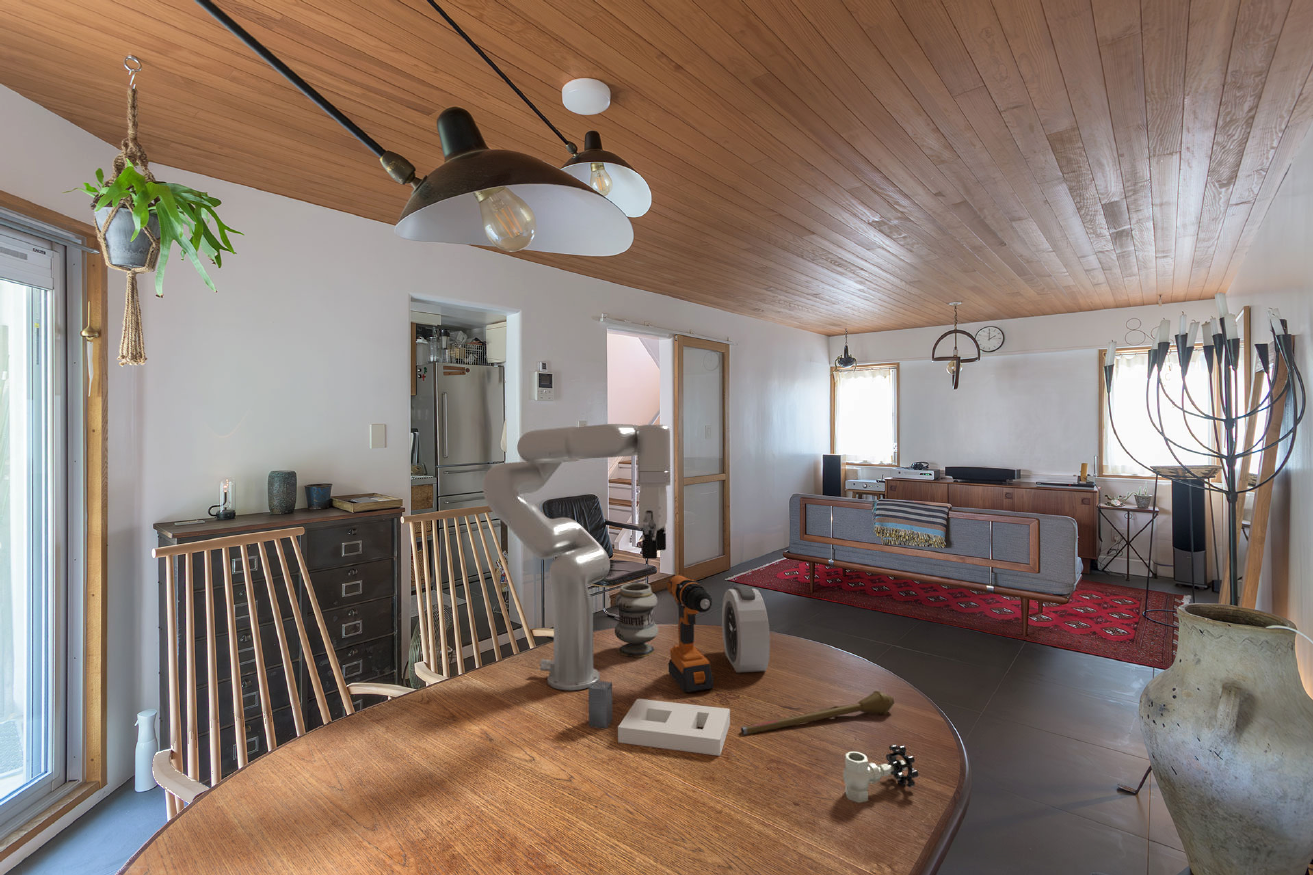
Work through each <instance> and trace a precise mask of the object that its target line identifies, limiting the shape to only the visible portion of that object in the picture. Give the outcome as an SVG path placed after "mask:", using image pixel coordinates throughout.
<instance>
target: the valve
mask: <svg viewBox="0 0 1313 875" xmlns="http://www.w3.org/2000/svg"><path fill="white" fill-rule="evenodd" d="M905 746H906V745H903V744H901V745H897V744H891V745H889V747H888V749H889V751H892V752H891V753H887V754H886V755H885V758H886V761H887V762H888V763H882V764H877V765H876V763H874V762H869V760H868V757H867V755H866V754H864V753H861V752H859V751H849V752H846V753H845V755H844V758H845V759H844V760H845V762H844V763H845V766H844V768H843V772H842V775H843V776H842V777H843V781H844V783H845V796H846V798H847V799H848V800H849V801H852V802H855V803H857V804H860V803H863V802H864V803H866V802H868V801H869V790H868V788H869V786H870V784H877V783H879V782H880V781H881V778H882V777H885V776H890V775H891V776H893V777H894V779H896V780H897V784H898V785H899V786H900V787H902V786H907V787H908V788H913V787H915V785H916V782H915V780H914V779H916V778H918V777H919V772H918V770H917V769H914V767H913V764H915V763H916V762H915V761H916V759H915V757H914V756H913V755H907V754H906V752H907V749H906V747H905ZM898 755H899V756H900V757H901V758H902V759H897V757H898ZM905 771H907V775H905V774H903V772H905Z"/></svg>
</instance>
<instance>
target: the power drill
mask: <svg viewBox="0 0 1313 875" xmlns="http://www.w3.org/2000/svg"><path fill="white" fill-rule="evenodd" d="M667 591H668V593H669V594H670V595H671V596H673V597H674V600H675V602H676V604H677V607H678V627H677V628H678V644H674V645H673V647H671V648H670V649H669V650H670V651H669V652H670V659H669V662H668V663H667V664H668V665H667V666H668V674H669V675H670V676H671V678H672V679H673V680H674V681H675V683H676V684H677V685H678V687H679V688H680V689H681V691H682V692H683V693H691V692H696V691H703V690H708V689H713V687H714V677H713V673H712V668H711V663H710V661H709V660H708V658H707V657H705V655H704V654H702V653H701V652H700V651H699V649H697V647H696V646H694V640H695V625H696V623H697V619H696V615H697V614H699V613H706V612H708V611H710V609H711V608H712V605H713V598H712V597H711V595H710V593H708V592H707V591H706V589H705V588H704V587H703V586H702V585H701V584H700V583H699V582H698V581H697V580H695V579H689V578H687V577H685V576H683V575H679V574H678V575H674V576H672V577H671V578H669V581H668V583H667Z"/></svg>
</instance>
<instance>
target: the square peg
mask: <svg viewBox="0 0 1313 875" xmlns="http://www.w3.org/2000/svg"><path fill="white" fill-rule="evenodd" d="M612 722H613V682H612V681H603V680H599V681H594V682H593V683H592V685H591V686H590V687H588V727H591V728H596V729H603V730H606V729H608V727H609V726H610V724H611V723H612Z"/></svg>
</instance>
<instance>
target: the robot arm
mask: <svg viewBox="0 0 1313 875" xmlns="http://www.w3.org/2000/svg"><path fill="white" fill-rule="evenodd" d="M516 446H517V447H516V449H517V453H518V455H519V457H520V458H521V459H522V460H523V461H516V462H515V461H514V462H505V463H500V464H497V465H494V466H493V467H491V468H490V469H488V470H487V472H486V473H485V475H484V477H483V480H482V481H483V482H482V490H483V491H482V492H483V497H484V499H485V502H486V504H487V506H488V508H489V509H490V510H491V511H492V513H493V514H494V515H495V516H496V517H497V518H498V519H499V520H501V522H503V523H504V524H505V525H506V526H507V527H508V528H509V529H510V530H511V531H512V533H513V534H514V535H515V536H516V537H517V538H518V539H519V541H521V543H522V544H523V545H524V546H525V548H527V549H528V550H529V551H530V553H531V554H533V556H535V557H536V558H537V559H540V560H548V559H553V558H554V559H553V560H552V562H551V564H550V566H549V570H548V572H549V573H548V575H549V583H550V588H551V593H552V601H553V602H552V605H553V659H552V660H550V659H546V658H545V659H543V658H541V659H540V661H539V669H540V671H542V672H546V671H547V672H549V674H548V676H547V683H548V686H550V687H552V688H554V689H556V690H561V691H579V690H584V689H585V690H586V689H589V687H590V686H591V685H592V683H593V682H594V681H601V678H600V677H601V675H600V672H599V671H598V670H597V669H596V668H594V611H593V610H594V608H593V601H592V597H591V595H590V592H589V588H588V587H589V586H590V585H593V584H595V583H598V582H600V581H601V580H603V579H604V578H606V576H608V574H609V571H610V568H611V560H610V557H609V555H608V553H607V551H606V550H605V549H604V548H603V546H602V545H601V544H600V543H599V542H598V541H597V540H596V539H595V538H594V537H593V536H592V535H591V534H590V533H589V532H588V531H587V530H586V528H584V527H583V525H581V524H580V523H579V522H577V521H576V520H575V519H573V518H569V517H557V518H549V517H547V516H546V515H545V514H544V513H543V512H541V510H540V509H539V508H538V507H537V506H536V505H535V503H532V502H531V501H530V500H528V499H526V498H525V497H522V496H521V495H523V494H524V495H525V494H532V493H535V492H538V491H539V490H540V489H543V487H544V486H545V485H546V484H547V483H548V481H549V480H550V479H551V477H552V476H553V475H554V474H555V473H556V471H557V470H558V469H559V468H560V466H561V464H563V463H571V462H579V461H580V460H588V459H605V458H607V459H608V458H621V457H634V456H636V458H637V459H636V461H637V463H636V464H637V467H636V468H637V469H636V470H637V473H636V474H637V486H638V487H640V488H639V497H638V513H637V514H638V515H637V516H638V517H637V518H638V519H637V528H638V529H639V530H640V531H642V535H641V537H642V538H641V539H642V540H641V542H642V544H641V545H642V546H641V548H642V551H641V552H642V553H641V554H642V555H641V556H642V558H643V559H649V560H650V559H651V560H654V559H657V558H658V551H665V550H667V534H666V525H667V524H668V523H667V522H668V521H667V520H668V498H667V497H668V496H667V494H668V492H667V487H668V486H671V429H670V428H669V426H667V425H666V424H643V425H637V424H626V423H624V424H623V423H608V424H607V423H605V424H594V425H585V426H584V425H583V426H567V427H556V428H547V429H546V428H545V429H534V430H530V431H527V432H525V433H523V435H521V437H519V439H518V440H517V445H516Z"/></svg>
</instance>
